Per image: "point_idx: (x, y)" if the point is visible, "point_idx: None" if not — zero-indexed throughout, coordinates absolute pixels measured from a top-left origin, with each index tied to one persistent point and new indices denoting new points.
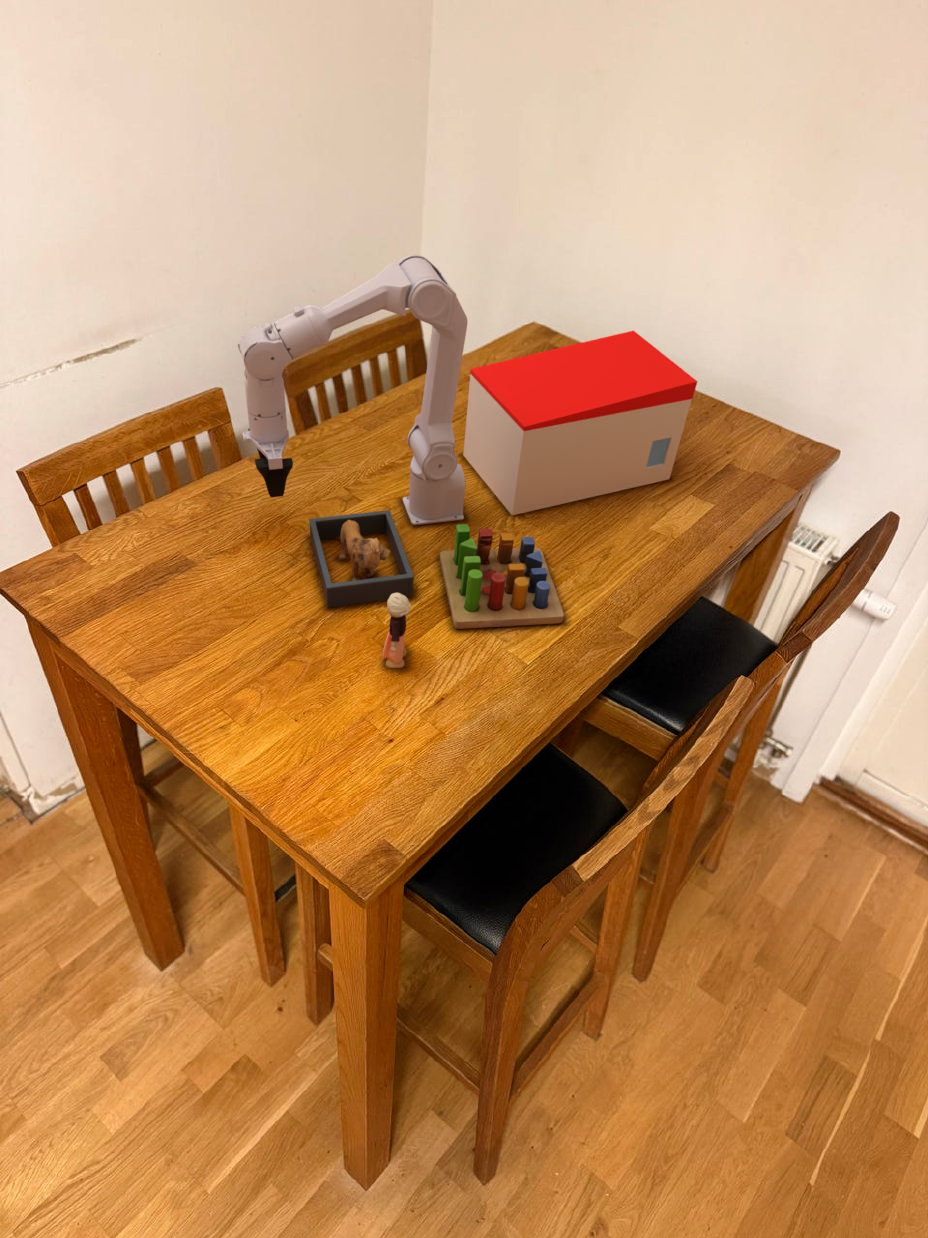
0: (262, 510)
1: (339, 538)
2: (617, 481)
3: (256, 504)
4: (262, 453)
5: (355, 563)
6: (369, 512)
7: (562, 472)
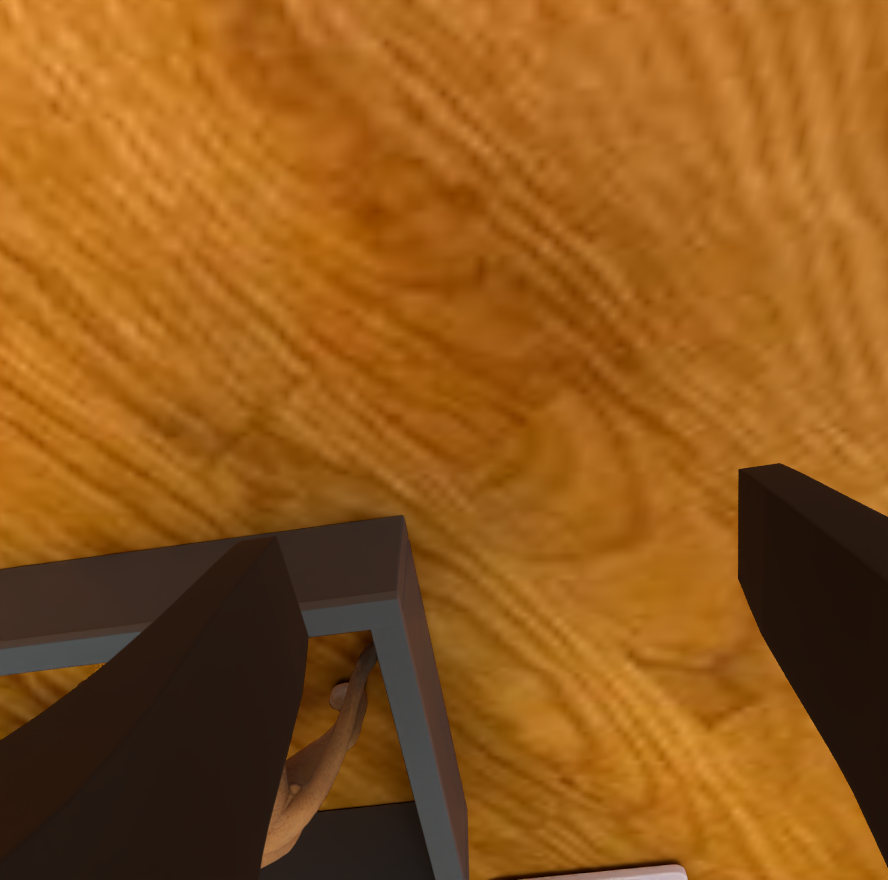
0: (712, 240)
1: (358, 662)
2: None
3: (790, 196)
4: (856, 605)
5: None
6: (455, 853)
7: None
